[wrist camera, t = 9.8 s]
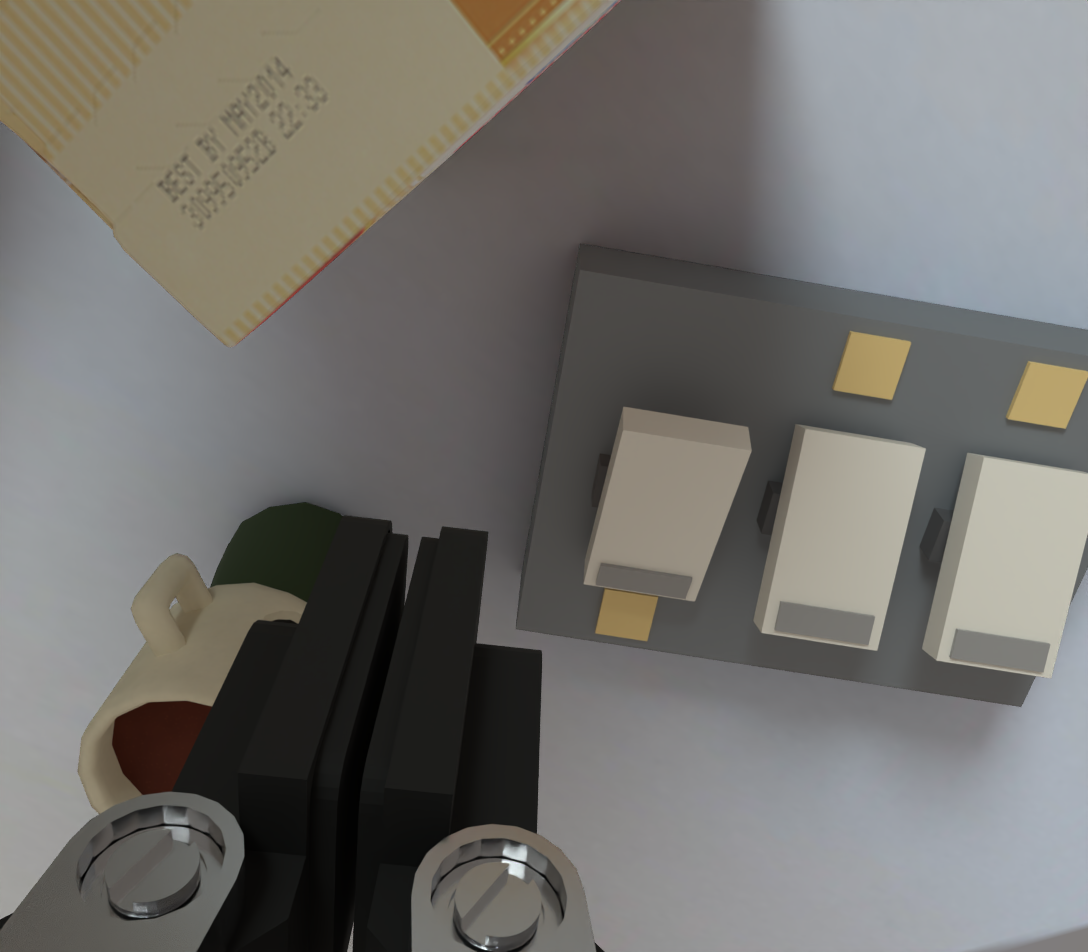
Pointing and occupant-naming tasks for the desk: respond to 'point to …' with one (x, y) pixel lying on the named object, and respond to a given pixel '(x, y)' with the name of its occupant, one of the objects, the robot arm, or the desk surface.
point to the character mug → (197, 648)
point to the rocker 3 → (1009, 566)
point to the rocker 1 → (664, 502)
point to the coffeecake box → (261, 122)
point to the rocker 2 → (837, 537)
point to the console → (787, 444)
